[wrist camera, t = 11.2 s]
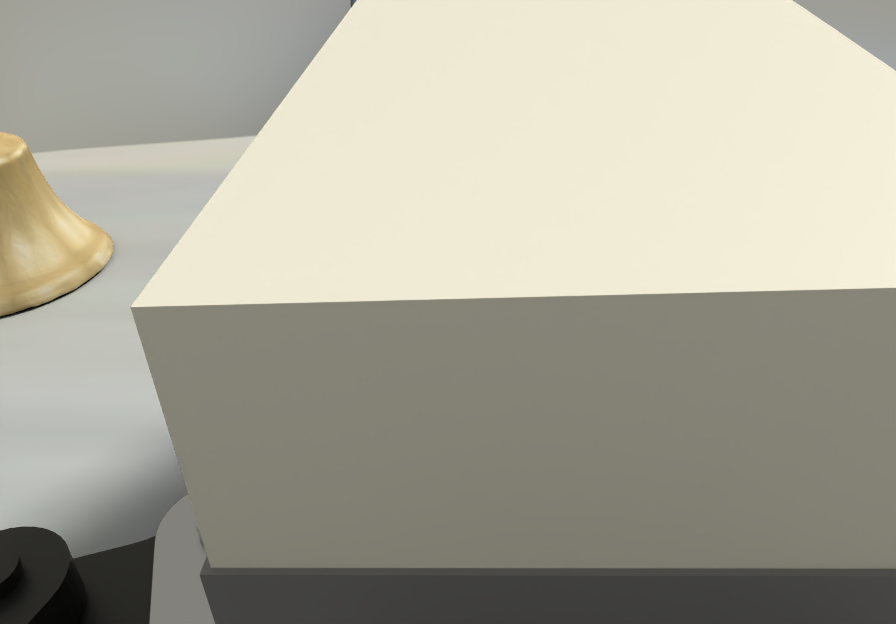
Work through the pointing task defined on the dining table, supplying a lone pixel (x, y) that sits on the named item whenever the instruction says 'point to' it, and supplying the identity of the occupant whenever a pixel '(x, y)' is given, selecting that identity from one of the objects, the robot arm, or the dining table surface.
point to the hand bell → (40, 235)
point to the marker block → (547, 324)
